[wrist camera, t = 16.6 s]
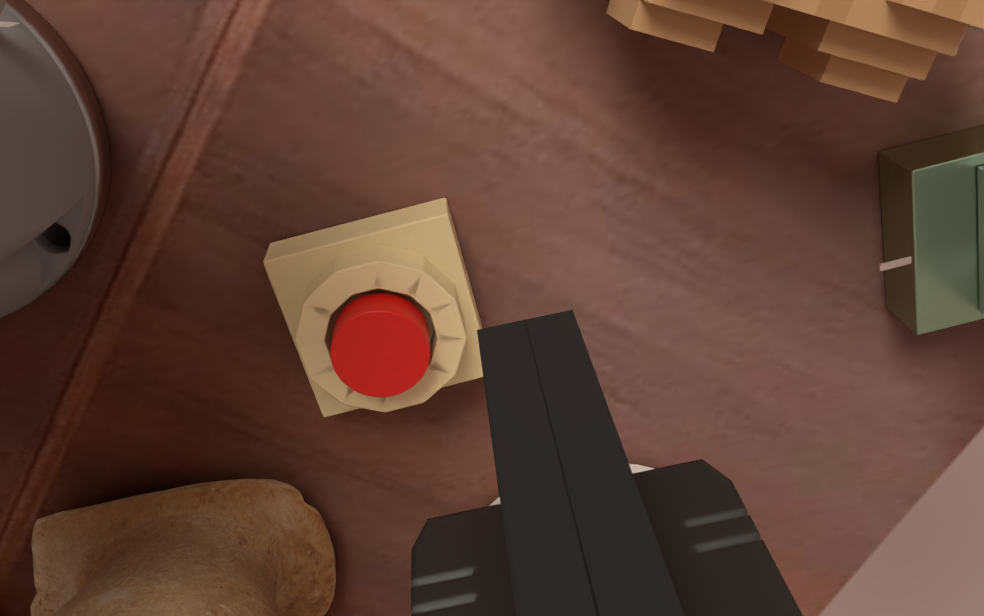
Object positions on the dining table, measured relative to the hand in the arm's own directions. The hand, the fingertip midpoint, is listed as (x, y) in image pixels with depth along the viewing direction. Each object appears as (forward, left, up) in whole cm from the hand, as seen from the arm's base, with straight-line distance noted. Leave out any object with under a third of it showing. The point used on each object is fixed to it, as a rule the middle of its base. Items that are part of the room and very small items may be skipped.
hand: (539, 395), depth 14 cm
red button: (-6, -9, -22) cm, 24 cm away
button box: (-6, -9, -25) cm, 27 cm away
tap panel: (+21, -12, -25) cm, 35 cm away
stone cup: (-19, -19, -25) cm, 37 cm away
